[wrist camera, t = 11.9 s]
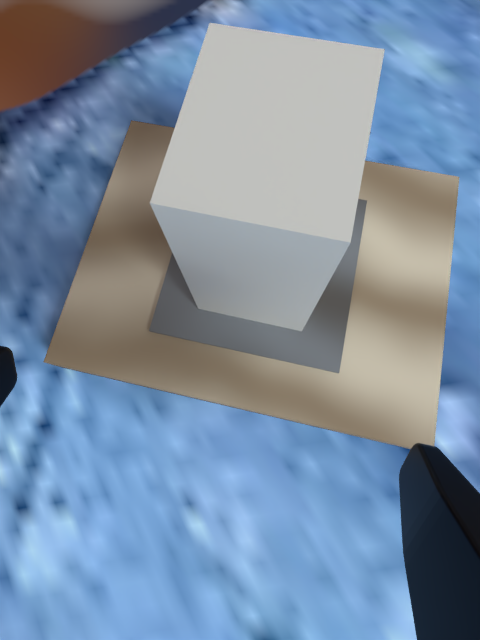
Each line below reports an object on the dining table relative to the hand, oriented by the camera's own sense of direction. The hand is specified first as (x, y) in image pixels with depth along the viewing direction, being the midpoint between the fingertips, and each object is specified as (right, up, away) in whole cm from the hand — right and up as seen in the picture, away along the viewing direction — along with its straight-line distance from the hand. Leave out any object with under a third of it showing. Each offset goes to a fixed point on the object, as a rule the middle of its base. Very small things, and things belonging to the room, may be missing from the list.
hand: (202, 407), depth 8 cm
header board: (+2, +4, +12) cm, 13 cm away
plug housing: (+2, +5, +10) cm, 12 cm away
